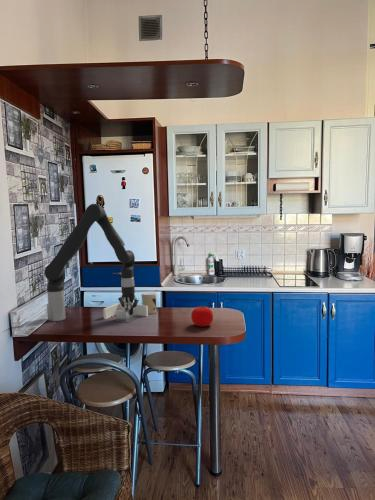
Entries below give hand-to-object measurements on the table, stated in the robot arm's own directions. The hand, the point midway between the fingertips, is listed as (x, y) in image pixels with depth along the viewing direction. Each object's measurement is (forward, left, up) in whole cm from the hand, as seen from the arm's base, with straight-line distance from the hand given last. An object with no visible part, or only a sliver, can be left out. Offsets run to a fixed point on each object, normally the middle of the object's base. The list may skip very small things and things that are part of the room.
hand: (129, 314), depth 217 cm
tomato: (+45, +3, -3) cm, 45 cm away
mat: (-1, -1, -3) cm, 3 cm away
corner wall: (-4, +2, -3) cm, 5 cm away
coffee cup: (+4, +16, -3) cm, 17 cm away
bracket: (-3, 0, -2) cm, 3 cm away
